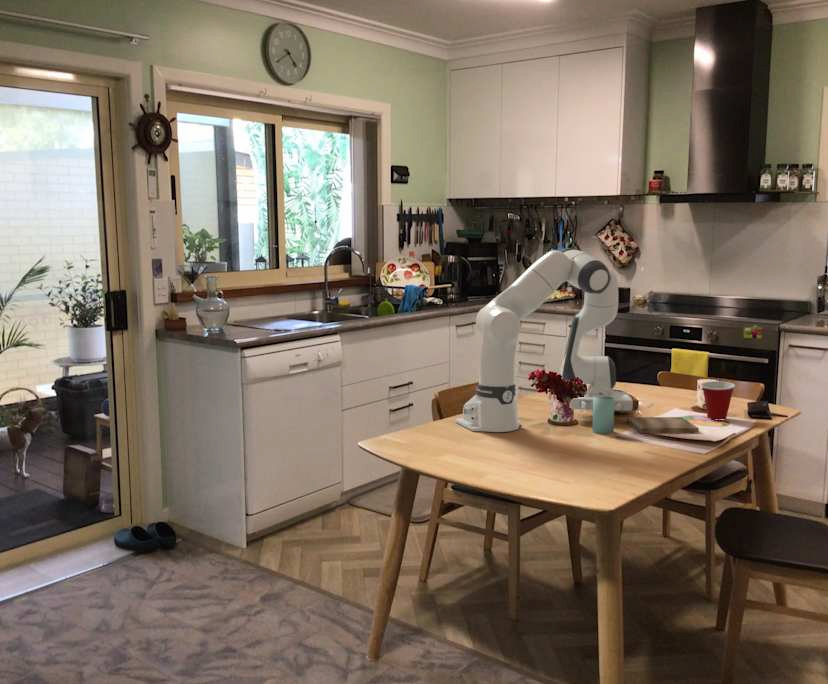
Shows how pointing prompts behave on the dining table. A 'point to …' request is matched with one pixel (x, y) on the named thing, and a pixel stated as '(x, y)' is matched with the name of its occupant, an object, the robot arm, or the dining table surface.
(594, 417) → the green tin
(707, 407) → the plastic cup
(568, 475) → the dining table surface
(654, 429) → the board
